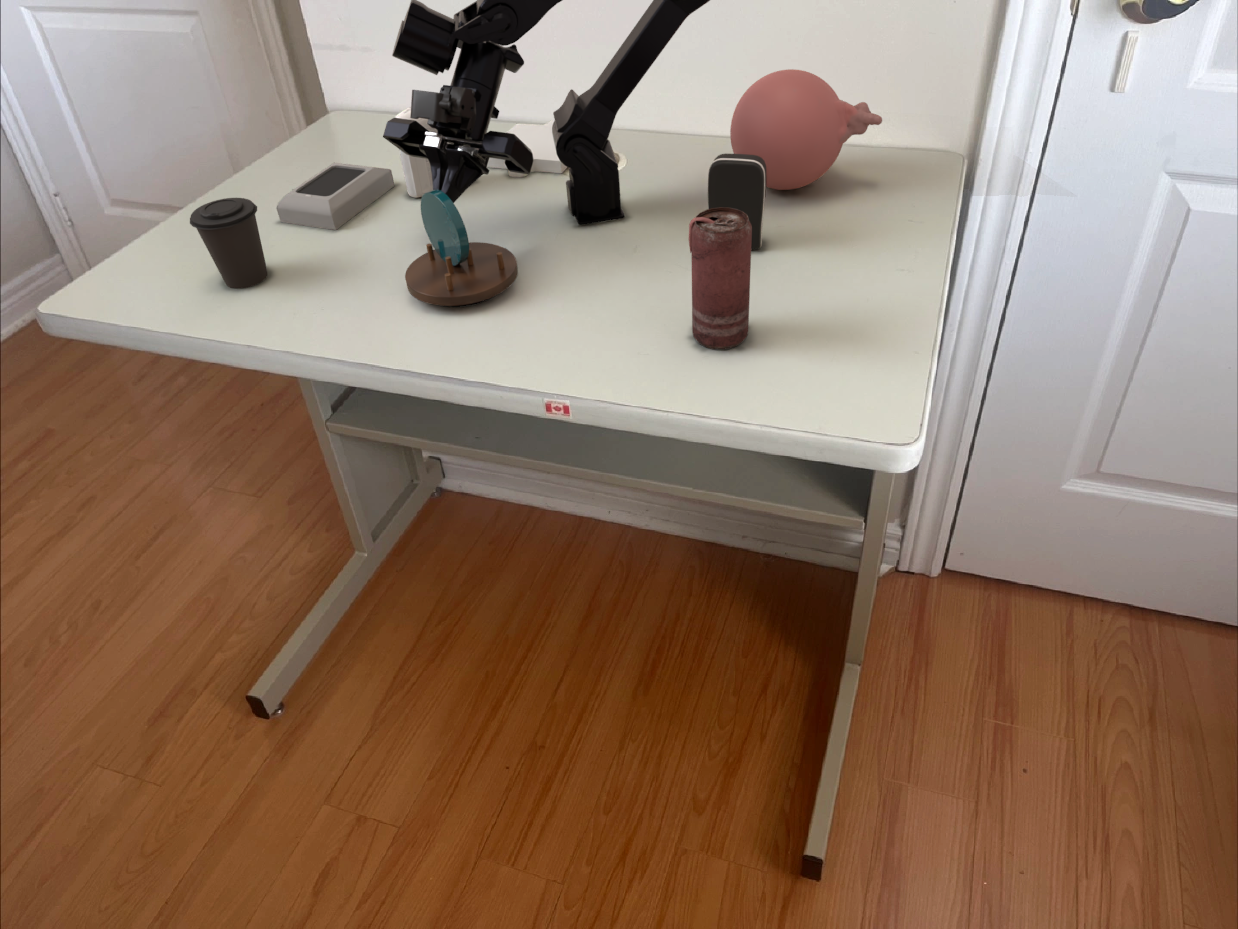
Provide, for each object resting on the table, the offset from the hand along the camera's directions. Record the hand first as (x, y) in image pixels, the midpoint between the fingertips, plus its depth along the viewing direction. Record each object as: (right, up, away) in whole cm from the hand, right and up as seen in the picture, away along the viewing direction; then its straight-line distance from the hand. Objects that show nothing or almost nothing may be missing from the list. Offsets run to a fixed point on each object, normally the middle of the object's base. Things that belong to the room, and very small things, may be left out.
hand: (438, 212), depth 113 cm
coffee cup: (-26, -7, +6) cm, 28 cm away
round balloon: (+48, +8, +17) cm, 51 cm away
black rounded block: (+37, -3, +5) cm, 38 cm away
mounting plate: (+9, +18, +32) cm, 38 cm away
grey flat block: (-19, +7, +22) cm, 30 cm away
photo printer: (-4, +10, +24) cm, 27 cm away
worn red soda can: (+33, -17, -11) cm, 39 cm away
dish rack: (+3, -8, 0) cm, 8 cm away
